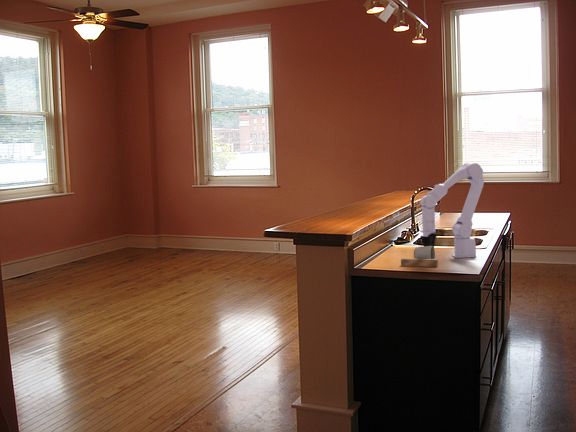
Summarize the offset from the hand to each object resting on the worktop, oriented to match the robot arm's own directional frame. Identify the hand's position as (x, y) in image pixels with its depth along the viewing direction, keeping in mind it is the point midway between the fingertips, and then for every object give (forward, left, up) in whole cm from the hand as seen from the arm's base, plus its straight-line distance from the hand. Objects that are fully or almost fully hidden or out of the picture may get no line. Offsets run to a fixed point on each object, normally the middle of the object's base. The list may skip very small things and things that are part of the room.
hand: (429, 249), depth 304 cm
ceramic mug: (+5, +10, -4) cm, 12 cm away
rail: (+8, +17, -4) cm, 20 cm away
